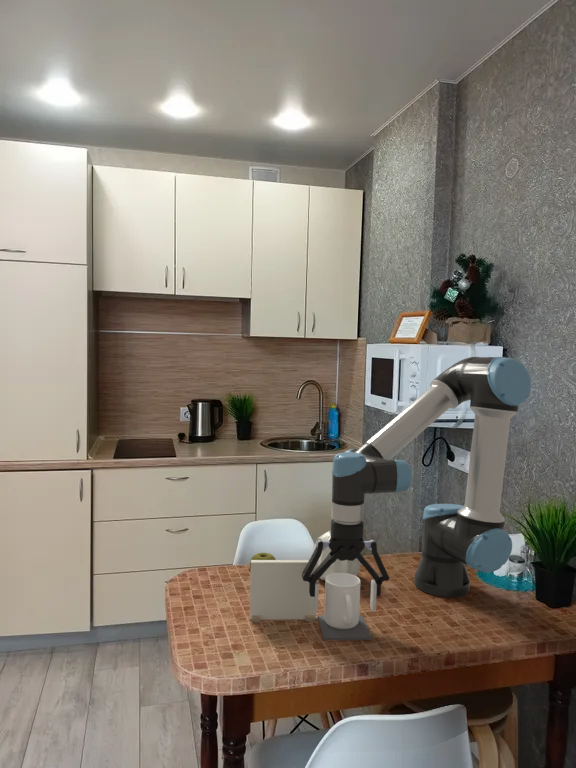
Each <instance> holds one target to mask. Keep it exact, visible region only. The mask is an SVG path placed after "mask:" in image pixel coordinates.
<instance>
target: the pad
mask: <svg viewBox="0 0 576 768" xmlns="http://www.w3.org/2000/svg"><path fill="white" fill-rule="evenodd" d="M317 622H318V625H319V628H320V631H321V637H322V639H323V641H372V640H373V637H372V634H371V631H370V630H369V627H368V625H367V623H366V621H365V617H363V614H359V622H358V624H357V625H356V626H355V627H353V628H350V629H337V628H333V627H331V626H329V625H328V624H327V623H326V622H325V619H324V614H322V615H321V614H318V615H317Z"/></svg>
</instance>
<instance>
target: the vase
mask: <svg viewBox="0 0 576 768" xmlns="http://www.w3.org/2000/svg"><path fill="white" fill-rule="evenodd" d="M330 537H331V530H328V531H326V532H325V533H322V535H320V536H318V537H317V539H316V541H315V543H314V544H315V545H314V548H313V551H314V550H315V549H316V543H317V540H318V539H321V540H322V541H329V540H330ZM330 551H331V549H330V548H329V547H326V549H325V550H324V551H322V554H321V556H320V558H319V560H318V566H319V565H320V564H321V563H322V562H323V560H324V559H325V558H326V557H327V556H328V554H329V553H330ZM361 565H362V564H361V563H360V562H359V560H358V559H357V558H356V559H354V560H353V561H349V560H344V561H340V560H339V559H337V560H336V561H335V562H334V563H332V564H331V566H330V567H329V568H328V569H327V570H326V571H325V572H324V573H323V575H322V576H321V577H320V578H319V580H321V581H325V579H326V577H327V576H328V575H330V574H333V573H347V574H352V575H355V576H357V577H358V573H359V572H360V571H361V567H362V566H361ZM318 566H317V567H318Z"/></svg>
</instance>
